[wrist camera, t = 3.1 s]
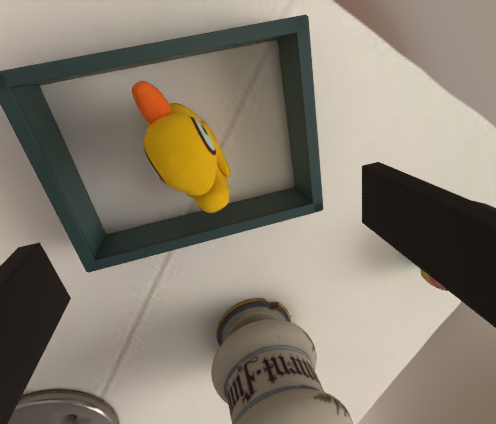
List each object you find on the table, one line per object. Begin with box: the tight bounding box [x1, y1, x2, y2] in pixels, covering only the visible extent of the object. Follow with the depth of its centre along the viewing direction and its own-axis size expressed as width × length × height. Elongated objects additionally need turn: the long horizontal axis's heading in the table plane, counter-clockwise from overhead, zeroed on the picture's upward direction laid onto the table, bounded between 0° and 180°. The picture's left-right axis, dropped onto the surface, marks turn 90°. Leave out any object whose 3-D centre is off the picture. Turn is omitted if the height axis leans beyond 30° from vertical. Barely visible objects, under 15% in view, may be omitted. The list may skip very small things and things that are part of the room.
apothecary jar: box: [212, 299, 353, 424], centre depth 31 cm, size 12×12×18 cm
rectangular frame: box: [0, 15, 323, 272], centre depth 26 cm, size 22×16×5 cm
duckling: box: [132, 81, 230, 213], centre depth 23 cm, size 11×5×10 cm, turn 26°
